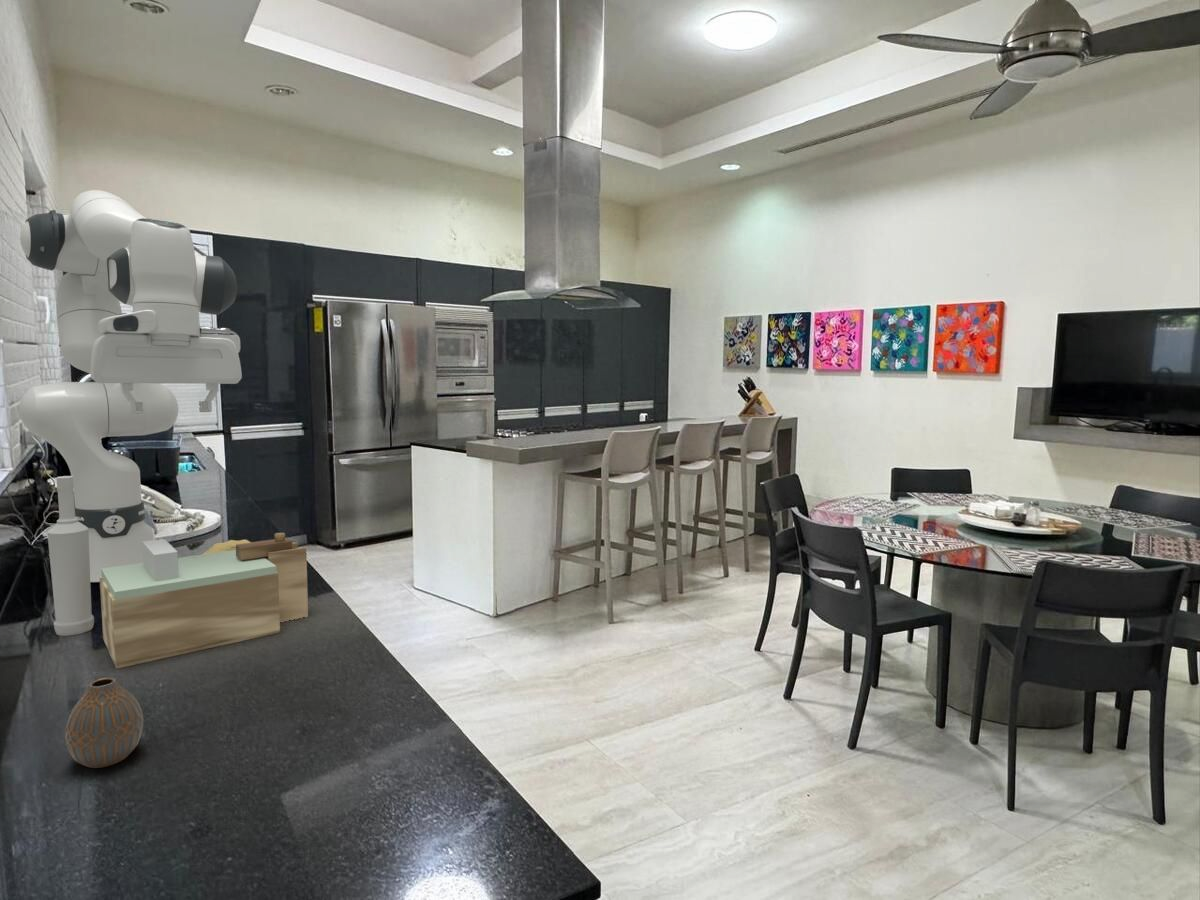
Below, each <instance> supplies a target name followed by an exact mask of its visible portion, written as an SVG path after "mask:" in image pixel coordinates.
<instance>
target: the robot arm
mask: <svg viewBox="0 0 1200 900" xmlns="http://www.w3.org/2000/svg"><path fill="white" fill-rule="evenodd" d="M69 211H70V212H69V214H63V213H59V212H57V211H56V210H55V209H51V210H50V211H48V212H46V213H45V212H42V213H35V214H34V215H31V216H30V217H28V218H27V219H25V222H24V225H23V226H22V228H21V231H20V238H19V239H20V246H21V248H22V251H23V252H24V254H25V255H24V256H25V257H26V259H27V261H28V262H30V264H31V265H32V266H35V267H38V268H40V269H44V270H48V271H52V272H53V271H54V270H55V271H59V272H63V273H64V272H65V274H63V275H62V277H61V278H60V279H59V282H58V286H57V292H56V304H55V305H56V321H57V329H58V336H59V343H60V344H59V345H60V352H61V355H62V356H63V358H64V360H65V361H66V362H67V363H69V364H70V366H72V367H74V368H76V369H78V370H80V371H82V372H85V373H88V374H90V377H91V379H92V380H93V381H58V382H52V383H51V382H50V383H45V384H38V385H33V386H31V387H30V388H28V389H27V390H26V391H25V392H24V393H23V395H22V397H21V399H20V401H19V408H18V411H19V412H18V413H19V418H20V420H21V422H22V424H23V425H24V428H26V429H27V430H28V431H29V432H31V434H32V435H35V436H36V437H38V438H41V439H42V440H44V441H46V442H47V443H48V444H49V445H51V446H52V447H54V449H55V450H56V451H58V452H59V454H60V455H61V456H62V458H63V459H64V460H65V462H66V464H67V466H68V469H69V472H70V476H73V486H74V488H73V493H74V508H75V517H76V518H78V522H80V523H81V524H83V525H85V526H86V527H88V530H89V558H90V583H100V577H102V573H101V569H102V568H110V567H117V566H124V565H131V564H138V563H143V549H142V541H149V540H156V538H155V537H156V536H155V534H156V533H155V528H153V527H152V526H150V525H149V524H148V523H146V522H145V519H146V508H145V502H143V501H142V488H141V487H142V486H141V485H142V484H141V483H142V482H141V469H140V467H139V466H138V464H137V463H136V462H135V461H134V460H133V459H131V458H129V457H127V456H124V455H122V454H119V453H117V452H113V451H109V450H108V449H106V448H104V446H103V444H102V439H103V438H106V437H107V438H108V437H109V438H110V437H132V436H135V437H136V436H147V435H153V434H158V433H162V432H166V431H169V430H170V428H172V427H173V426H174V424H175V423H176V421H177V418H178V414H179V404H178V400H177V399H176V397H175V394H174V393H173V392H172V391H171V389H169V388H168V387H166V386H165V385H163V384H199V385H200V384H205V391H207V392H208V391H209V392H208V394H207V395H206V397H205V399H204V400H200V401H198V405H199V409H198V410H199V412H200V413H211V412H212V410H213V408H212V405H213V403H212V402H213V401H214V399H215V397H216V396H217V394H218V392H219V384H220V385H222V384H223V385H224V384H225V385H226V384H228V385H229V384H231V385H232V384H233V385H234V384H238V383H239V382H240V381H241V380H242V379H243V375H242V366H241V360H240V357H239V356H240V355H239V353H240V352H241V338H240V336H239V335H238V333H237V332H235V331H233V330H231V328H228V327H213V326H200V314H207V315H215V316H218V315H220V314H221V313H223V312H224V311H226V310H227V309H229V308H230V306H232V305H233V304H234V303H235V301H236V298H237V293H238V284H237V283H238V281H237V278H236V274H235V273H234V270H233V269H232V268H231V266H230V265H229V264H228V263H227V262H226V261H225V260H224V259H223V257H221V256H219V255H217V256H216V255H207V254H206V253H205V252H204V251H201V250H200V249H199V248H197V247H196V246H195V245H194V241H193V237H192V234H191V230H190V229H189V228H188V227H186V226H185V225H183V224H182V223H178V222H176V223H175V222H172V221H166V220H159V219H158V220H157V219H152V218H147V217H145V216H144V215H143V214H141V213H140V212H138V211H137V210H136V209H135V208H134V207H133V206H132V205H131V204H129V202H128V201H126V200H124V199H123V198H121V197H119V196H118V195H116V194H114V193H110V192H109V191H105V190H101V189H91V190H85V191H83V192H81V193H79V194H78V195H77V196H76V197H75V198H74V200H72V203H71V205H70V210H69ZM120 302H121V303H122V304H123V305H128V306H131V307H132V311H131V312H122V307H121V303H120Z"/></svg>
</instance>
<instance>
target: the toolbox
mask: <svg viewBox="0 0 1200 900" xmlns="http://www.w3.org/2000/svg"><path fill="white" fill-rule="evenodd" d="M264 558H266V559H267V560H268V561H270V562H271V563H273V564H274V565H276V568H277V573H276V574H270V575H264V576H258V577H252V578H246V579H240V580H234V581H228V582H222V583H216V584H210V585H204V586H198V587H192V588H186V589H180V590H174V591H168V592H162V593H156V594H150V595H144V596H138V597H132V598H127V599H121V600H115V599H114V597H113V596H112V594H111V592H110V590H109V588H108V587H107V585H106V583H105V581H104V579H103V578H102V577H100V582H99V590H100V609H101V625H102V626H101V627H102V639H103V641H104V645H105V646H106V648H107V651H108V653H109V655H110V658H111V660H112V662H113V664H114V666H115V668H116V670H117V669H121V668H127V667H130V666H135V665H140V664H145V663H149V662H153V661H157V660H162V659H167V658H171V657H175V656H179V655H180V656H181V655H184V654H189V653H194V652H198V651H203V650H208V649H211V648H216V647H221V646H225V645H229V644H235V643H240V642H244V641H248V640H252V639H257V638H262V637H266V636H271V635H277V634H279V633H281V623H285V621H286V622H290V621H289V620H291V621H294V619H295V620H298V619H299V618H300V619H304V618H303V617H305V618H308V617H309V607H308V606H309V602H308V600H309V599H308V598H309V597H308V569H307V568H308V560H307V559H308V557H307V547H306V546H305V547H299V544H298V542H292V549H289V550H282V551H276V552H269V553H268V556H267V557H264ZM300 619H299V620H300ZM280 622H281V623H280Z"/></svg>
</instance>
